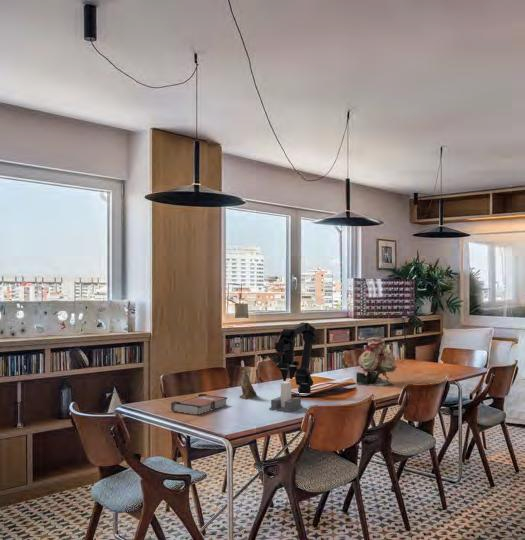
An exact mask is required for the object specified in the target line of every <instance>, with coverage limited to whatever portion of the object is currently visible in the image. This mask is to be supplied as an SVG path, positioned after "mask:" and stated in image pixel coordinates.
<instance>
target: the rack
mask: <svg viewBox="0 0 525 540" xmlns="http://www.w3.org/2000/svg"><path fill="white" fill-rule="evenodd" d="M301 401H302V397H293V398H291V399H290V400H287V401H285V408H283V407H281V396H279V397H278V396H277V397H276V398H273V399H271V400H270V407H269V408H268V409H269V411H273V410H277V411H276V412H281V411H285V412H284V413H289V412H290V413H292V411H293V412H294V411H297V410H300V409H301V408H303V405H302V402H301Z"/></svg>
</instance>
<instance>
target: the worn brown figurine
mask: <svg viewBox="0 0 525 540" xmlns="http://www.w3.org/2000/svg"><path fill="white" fill-rule="evenodd" d="M240 387H241V392H242V394H240V395H239V398H242V399H241V400H248V398H249V399H252V398H257V392H256V391H255V389H254V386H253V385H252V383H251V380H250V377H249V375H248V374H247V370H246V369H243V370H242V380H241V381H240Z"/></svg>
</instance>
